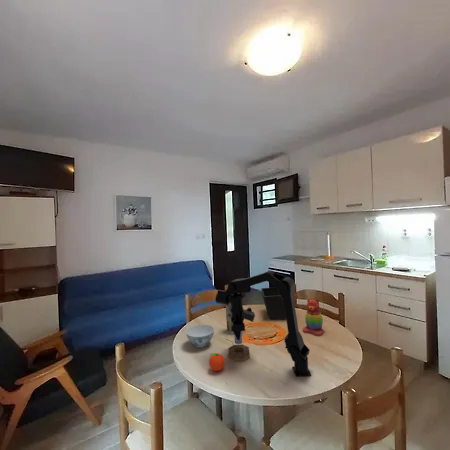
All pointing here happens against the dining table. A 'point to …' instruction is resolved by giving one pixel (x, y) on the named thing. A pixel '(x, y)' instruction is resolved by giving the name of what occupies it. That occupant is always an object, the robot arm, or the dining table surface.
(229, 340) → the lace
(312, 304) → the stacking bear
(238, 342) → the tapered blue cylinder
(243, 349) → the bead
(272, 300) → the black bin
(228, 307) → the coffee box
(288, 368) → the dining table surface
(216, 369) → the clementine
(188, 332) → the chinaware
